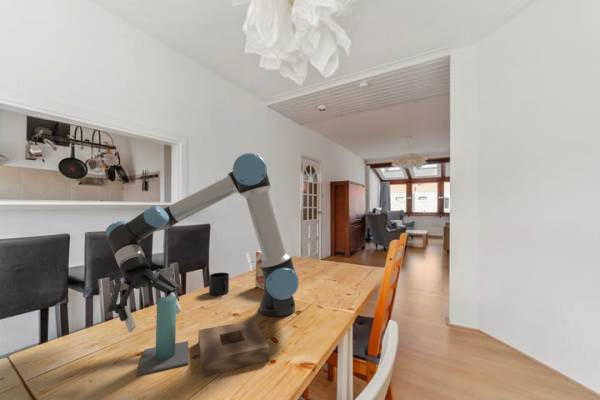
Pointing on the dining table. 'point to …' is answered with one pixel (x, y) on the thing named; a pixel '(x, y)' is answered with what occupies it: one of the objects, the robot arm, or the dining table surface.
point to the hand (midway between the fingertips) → (157, 320)
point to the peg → (165, 328)
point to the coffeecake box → (259, 270)
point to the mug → (218, 284)
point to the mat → (153, 365)
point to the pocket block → (231, 347)
